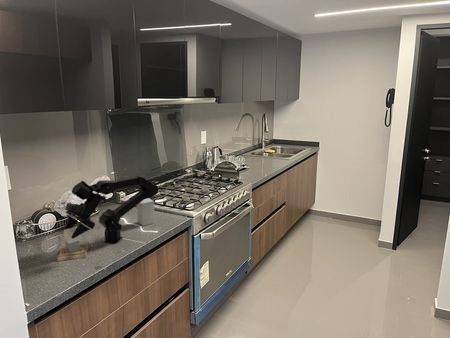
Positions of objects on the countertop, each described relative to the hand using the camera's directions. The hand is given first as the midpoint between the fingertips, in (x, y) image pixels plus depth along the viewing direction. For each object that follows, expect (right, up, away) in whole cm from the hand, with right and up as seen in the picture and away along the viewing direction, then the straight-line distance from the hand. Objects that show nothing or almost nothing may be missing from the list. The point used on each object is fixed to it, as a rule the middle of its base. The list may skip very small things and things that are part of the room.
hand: (68, 235), depth 148 cm
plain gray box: (+1, -8, +3) cm, 8 cm away
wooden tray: (+1, -9, +3) cm, 9 cm away
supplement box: (+25, -1, +38) cm, 46 cm away
